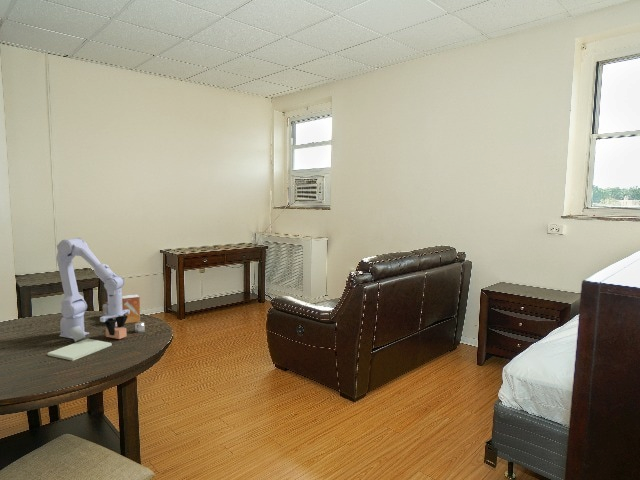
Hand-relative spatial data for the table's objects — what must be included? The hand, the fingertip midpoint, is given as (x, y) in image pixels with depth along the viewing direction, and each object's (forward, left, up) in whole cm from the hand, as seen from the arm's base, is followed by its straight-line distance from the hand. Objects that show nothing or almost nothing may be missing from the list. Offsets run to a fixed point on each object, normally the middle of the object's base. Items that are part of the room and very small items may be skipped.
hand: (116, 333), depth 185 cm
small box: (-13, +21, -2) cm, 25 cm away
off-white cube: (-8, +8, -2) cm, 12 cm away
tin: (-25, +21, -2) cm, 33 cm away
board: (-1, -17, -2) cm, 17 cm away
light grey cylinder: (+3, +11, -2) cm, 12 cm away
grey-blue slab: (-13, -9, 0) cm, 16 cm away
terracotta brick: (0, 0, -1) cm, 1 cm away
